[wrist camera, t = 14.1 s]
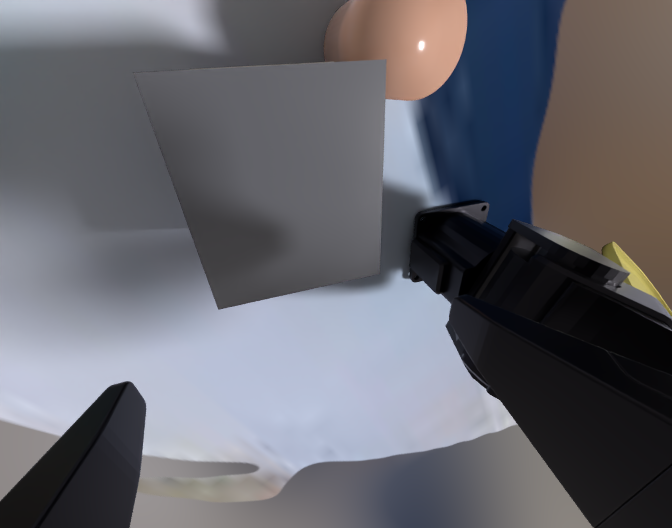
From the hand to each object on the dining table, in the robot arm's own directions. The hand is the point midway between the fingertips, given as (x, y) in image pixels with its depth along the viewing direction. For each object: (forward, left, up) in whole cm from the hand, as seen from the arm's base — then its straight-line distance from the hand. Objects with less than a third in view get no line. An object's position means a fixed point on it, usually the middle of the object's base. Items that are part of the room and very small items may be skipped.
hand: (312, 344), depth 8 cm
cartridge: (-7, -7, -13) cm, 16 cm away
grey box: (-1, -2, -13) cm, 13 cm away
